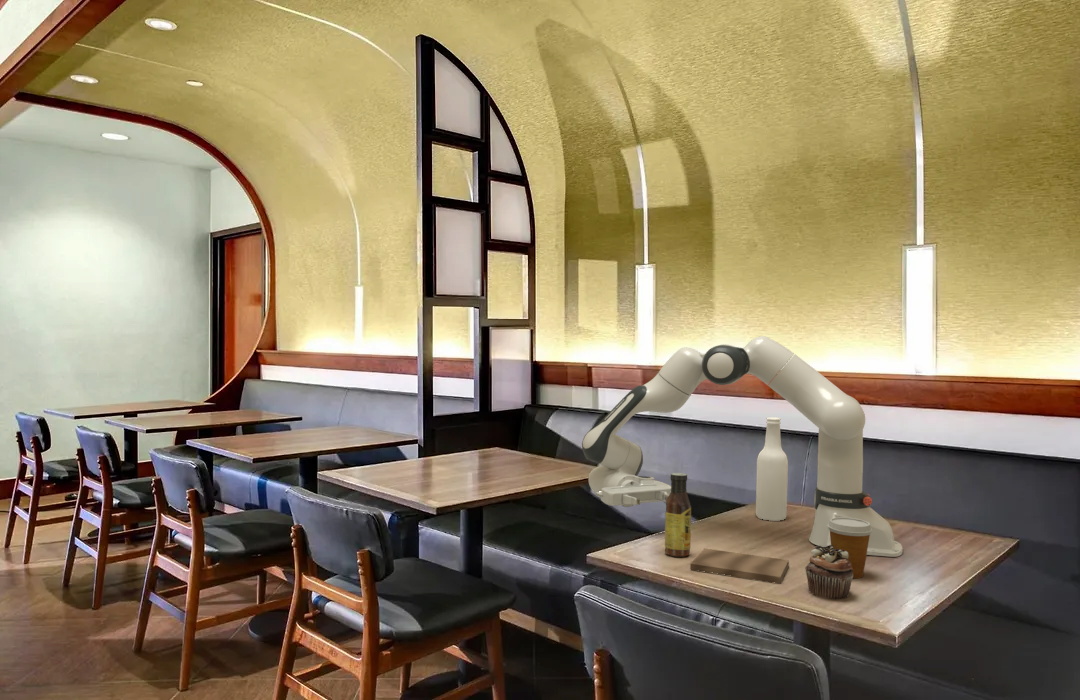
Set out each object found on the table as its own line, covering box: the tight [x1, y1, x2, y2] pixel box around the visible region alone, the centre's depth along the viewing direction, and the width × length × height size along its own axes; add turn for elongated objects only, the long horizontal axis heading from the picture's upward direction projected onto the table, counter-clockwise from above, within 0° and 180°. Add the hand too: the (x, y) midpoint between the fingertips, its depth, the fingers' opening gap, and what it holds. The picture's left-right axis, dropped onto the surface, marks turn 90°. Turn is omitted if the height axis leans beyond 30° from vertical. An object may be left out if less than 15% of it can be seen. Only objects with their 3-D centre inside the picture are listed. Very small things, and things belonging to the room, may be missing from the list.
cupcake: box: [804, 545, 854, 600], centre depth 162 cm, size 10×10×10 cm
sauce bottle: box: [664, 472, 692, 558], centre depth 188 cm, size 6×6×20 cm
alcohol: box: [755, 416, 789, 522], centre depth 226 cm, size 9×9×30 cm
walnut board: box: [689, 548, 790, 584], centre depth 177 cm, size 20×14×2 cm
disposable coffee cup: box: [828, 517, 872, 579], centre depth 175 cm, size 10×10×12 cm
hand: (653, 500), depth 198 cm, fingers open, 8 cm apart
